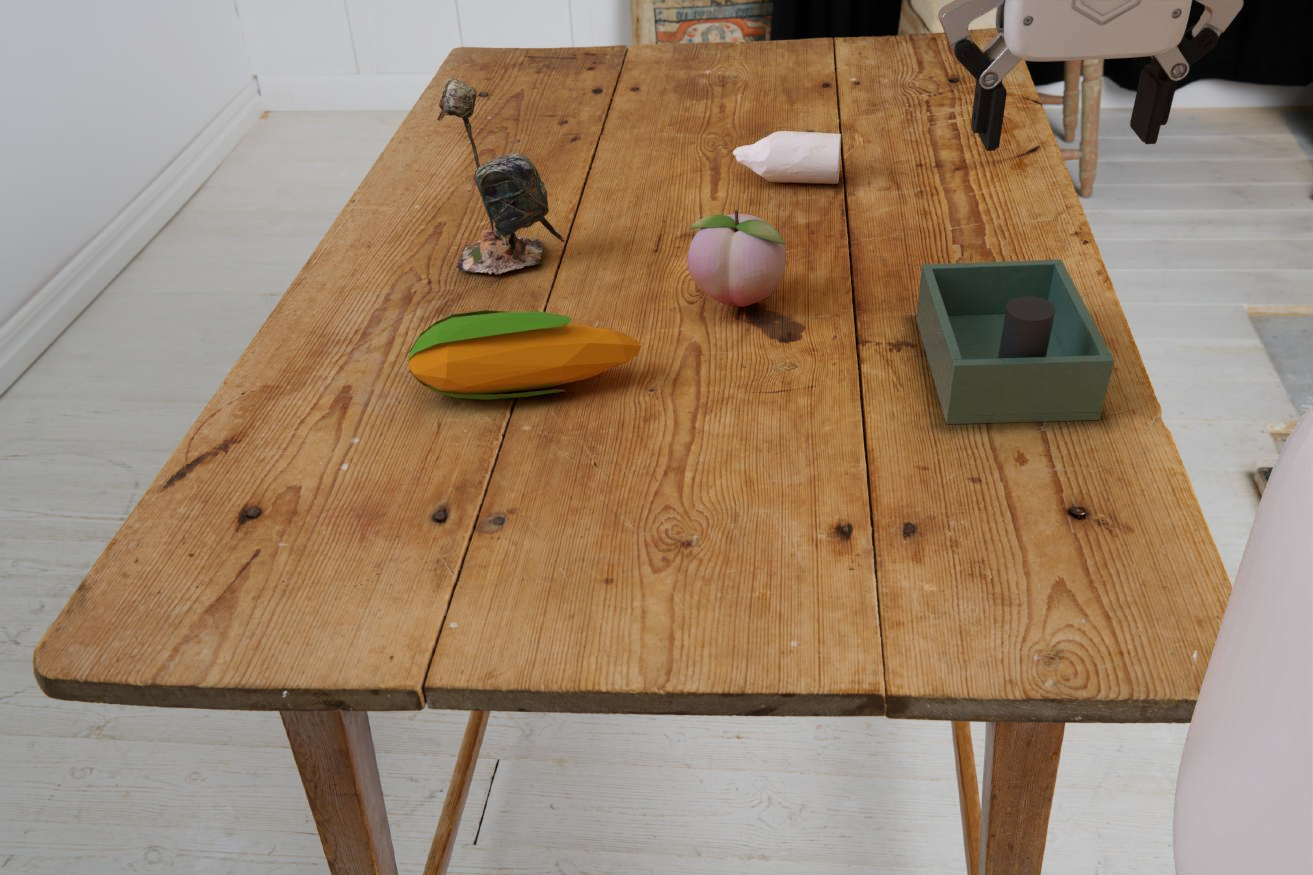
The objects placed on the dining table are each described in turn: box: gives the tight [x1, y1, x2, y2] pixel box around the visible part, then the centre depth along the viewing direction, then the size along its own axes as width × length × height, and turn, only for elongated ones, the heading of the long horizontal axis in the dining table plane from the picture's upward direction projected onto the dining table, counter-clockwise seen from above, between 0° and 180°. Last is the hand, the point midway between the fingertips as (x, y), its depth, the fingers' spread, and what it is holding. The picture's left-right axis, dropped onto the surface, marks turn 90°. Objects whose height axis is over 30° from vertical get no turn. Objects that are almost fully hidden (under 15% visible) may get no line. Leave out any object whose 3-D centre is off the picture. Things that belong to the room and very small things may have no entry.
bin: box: [915, 259, 1115, 425], centre depth 90 cm, size 16×12×6 cm
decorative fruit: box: [686, 209, 787, 308], centre depth 99 cm, size 9×8×10 cm
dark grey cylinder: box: [998, 296, 1055, 359], centre depth 85 cm, size 4×4×8 cm
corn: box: [407, 309, 642, 401], centre depth 91 cm, size 7×8×20 cm
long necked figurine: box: [436, 77, 566, 276], centre depth 105 cm, size 8×11×20 cm
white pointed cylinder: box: [732, 130, 842, 185], centre depth 120 cm, size 6×12×6 cm, turn 79°
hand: (1064, 139), depth 68 cm, fingers open, 9 cm apart
